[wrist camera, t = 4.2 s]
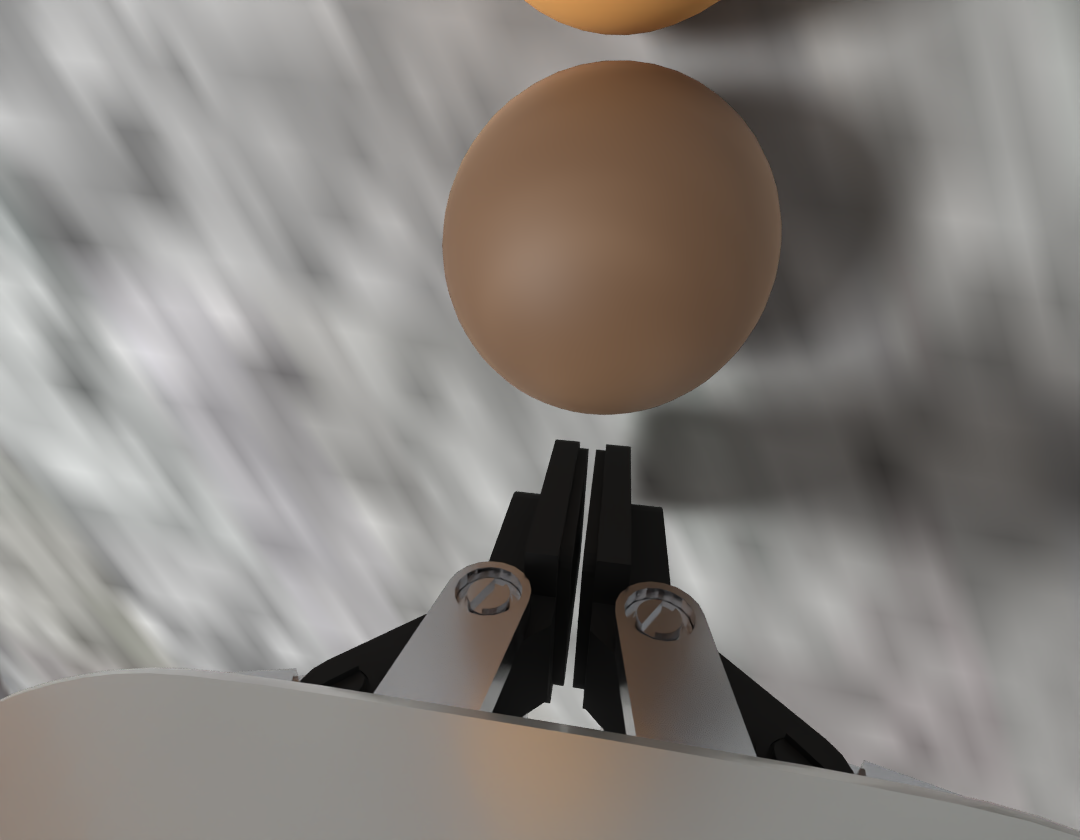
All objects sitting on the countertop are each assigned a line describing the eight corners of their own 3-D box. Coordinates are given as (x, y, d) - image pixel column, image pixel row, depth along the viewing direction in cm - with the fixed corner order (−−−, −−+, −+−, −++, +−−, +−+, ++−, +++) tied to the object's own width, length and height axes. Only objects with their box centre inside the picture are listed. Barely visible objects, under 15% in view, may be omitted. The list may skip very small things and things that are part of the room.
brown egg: (572, 28, 4) (612, -83, 8) (336, 362, 8) (434, 186, 11) (902, 374, 7) (819, 169, 10) (599, 510, 10) (615, 326, 14)
